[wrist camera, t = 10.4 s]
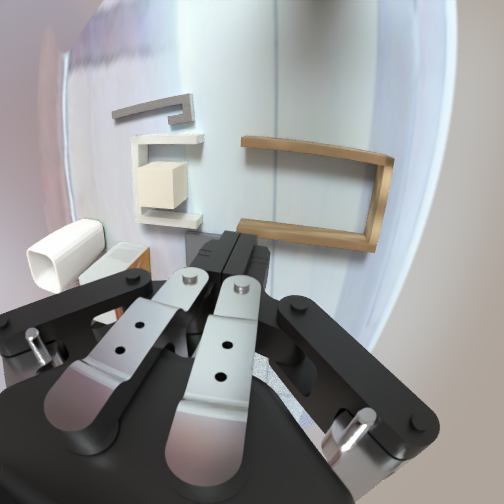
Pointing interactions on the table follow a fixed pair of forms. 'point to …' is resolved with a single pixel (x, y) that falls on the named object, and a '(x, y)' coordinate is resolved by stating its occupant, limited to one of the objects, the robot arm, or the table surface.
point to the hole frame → (196, 243)
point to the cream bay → (141, 158)
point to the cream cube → (162, 184)
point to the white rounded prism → (65, 254)
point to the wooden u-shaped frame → (321, 235)
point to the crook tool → (181, 99)
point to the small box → (116, 270)
